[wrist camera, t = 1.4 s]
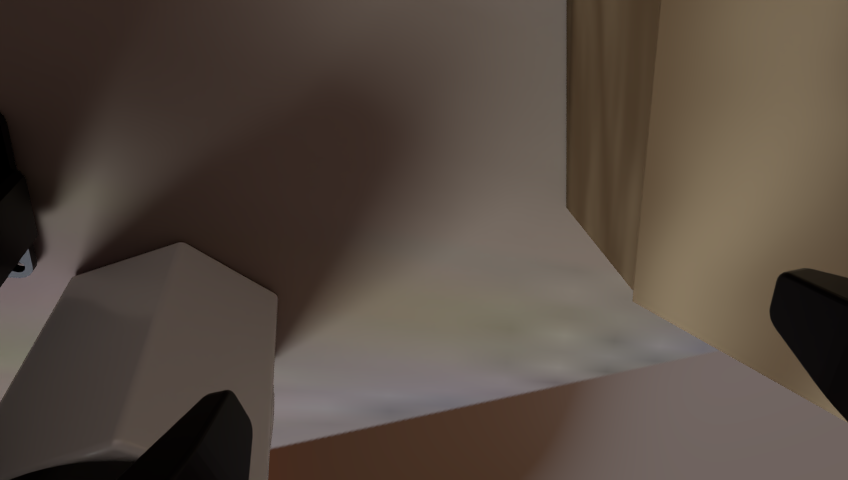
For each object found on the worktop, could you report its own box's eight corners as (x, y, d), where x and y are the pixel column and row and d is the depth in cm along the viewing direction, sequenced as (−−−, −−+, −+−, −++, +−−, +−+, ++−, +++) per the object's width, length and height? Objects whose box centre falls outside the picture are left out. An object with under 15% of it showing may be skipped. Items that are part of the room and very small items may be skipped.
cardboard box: (566, 207, 24) (632, 289, 19) (566, -198, 16) (681, -231, 11) (823, 146, 25) (947, 211, 20) (948, -268, 16) (1208, -327, 12)
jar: (265, 399, 27) (245, 699, 17) (78, 392, 24) (-71, 738, 15) (290, 251, 22) (281, 542, 13) (64, 225, 20) (-164, 561, 10)
